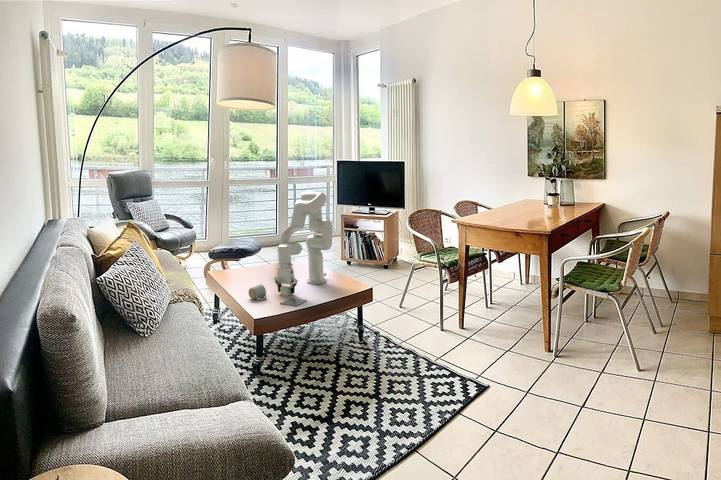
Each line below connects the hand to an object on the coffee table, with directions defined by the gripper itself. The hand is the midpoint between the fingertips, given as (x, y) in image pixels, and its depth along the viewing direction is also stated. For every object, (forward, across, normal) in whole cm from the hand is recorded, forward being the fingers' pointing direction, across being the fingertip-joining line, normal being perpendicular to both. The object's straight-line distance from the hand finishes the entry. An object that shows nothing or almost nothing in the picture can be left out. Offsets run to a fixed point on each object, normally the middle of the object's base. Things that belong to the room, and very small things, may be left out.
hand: (286, 292), depth 288 cm
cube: (+1, 0, 0) cm, 1 cm away
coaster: (+1, -13, +11) cm, 17 cm away
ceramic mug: (+1, +10, +13) cm, 17 cm away
